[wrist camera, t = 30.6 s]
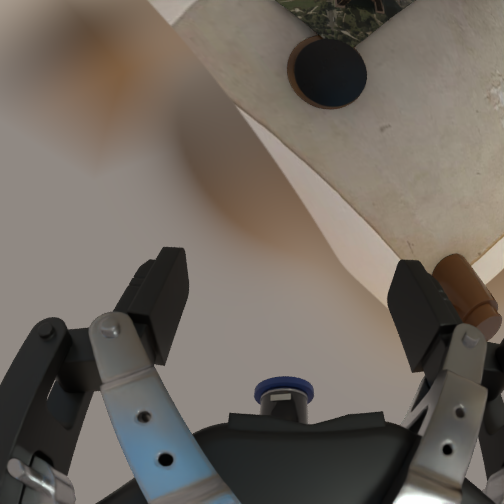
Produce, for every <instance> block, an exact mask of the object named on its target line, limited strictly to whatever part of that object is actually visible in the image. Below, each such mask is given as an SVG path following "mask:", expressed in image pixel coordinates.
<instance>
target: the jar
mask: <svg viewBox="0 0 504 504" xmlns="http://www.w3.org/2000/svg"><path fill="white" fill-rule="evenodd" d="M432 276H433V277H434V278H435V279H436V280H437V281H438V282H439V283H440V285H441V286H442V288H443V290H444V292H445V293H446V294H447V296H448V298H449V300H450V301H451V303H452V304H453V306H454V308H455V309H456V311H457V313H458V315H459V316H460V318H461V320H462V322H463V323H465V324H470V325H473V326H475V327H476V328H478V329H479V330H480V331H481V332H482V333H483V335H484V336H485V338H486V341H488V340H489V339H491V338H492V337H493V336H494V335H495V334H496V333H497V331H498V330H499V328H500V326H501V323H502V317H501V315H500V314H498V312H497V310H498V304H497V302H496V301H495V299H494V298H493V296H492V295H491V293H490V292H489V290H488V289H487V287H486V286H485V285H484V283H483V282H482V280H481V279H480V278H479V276H478V275H477V273H476V272H475V271H474V269H473V268H472V267H471V265H470V264H469V263H468V262H467V260H466V259H465V258H464V257H463V256H462V255H459V254H452V255H449V256H447V257H445V258H444V259H443V260H441V261H440V262H439V263H438V265H437V266H436V267H435V269H434V271H433V274H432Z"/></svg>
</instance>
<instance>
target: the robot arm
mask: <svg viewBox="0 0 504 504" xmlns="http://www.w3.org/2000/svg"><path fill="white" fill-rule="evenodd" d="M188 294H189V279H188V271H187V263H186V254H185V250H184V248H176V247H163V248H162V250H161V251H160V253H159V255H158V256H157V258H156V260H151V259H150V260H148V261H147V262H146V263H144V264H143V265H141V266H140V267H139V269H138V270H137V272H136V273H135V275H134V278H132V280H131V282H130V283H129V286H128V287H127V288H126V290H125V292H124V293H123V295H122V297H121V298H120V300H119V302H118V303H117V305H116V307H115V309H114V310H113V312H108V313H104V314H102V315H101V316H99V317H97V318H96V319H95V320H94V321H93V322H92V323H91V325H90V327H89V328H81V329H70V330H68V329H67V327H66V325H65V323H64V321H63V320H61V319H59V318H55V317H52V318H46V319H44V320H42V321H40V322H39V323H37V324H36V325H35V326H34V327H33V329H32V330H31V332H30V333H29V335H28V337H27V339H26V340H25V341H24V343H23V345H22V347H21V348H20V350H19V352H18V353H17V355H16V357H15V359H14V360H13V362H12V364H11V366H10V368H9V370H8V372H7V373H6V375H5V377H4V379H3V381H2V383H1V385H0V504H75V501H76V498H75V492H74V487H73V485H72V483H71V481H70V480H69V478H68V477H67V475H68V471H69V468H70V464H71V460H72V457H73V453H74V450H75V447H76V443H77V440H78V436H79V434H80V431H81V427H82V424H83V421H84V418H85V415H86V412H87V410H88V407H89V404H90V401H91V398H92V395H93V392H94V391H101V393H102V397H103V400H104V403H105V406H106V408H107V412H108V414H109V417H110V420H111V423H112V425H113V428H114V430H115V433H116V435H117V438H118V440H119V443H120V445H121V448H122V450H123V453H124V455H125V457H126V459H127V462H128V464H129V466H130V468H131V470H132V472H133V474H134V478H133V479H132V480H130V481H129V482H127V483H126V484H125V485H123V486H122V487H120V488H119V489H117V490H116V491H114V492H113V493H111V494H110V495H108V496H107V497H105V498H104V499H103V500H101V501H99V502H98V503H96V504H504V403H503V400H502V397H501V393H502V391H503V390H504V339H503V340H502V342H501V343H500V344H496V343H491V342H487V341H486V338H485V336H484V335H483V333H482V332H481V331H480V330H479V329H478V328H476V327H475V326H473V325H470V324H465V323H463V322H462V320H461V318H460V316H459V315H458V313H457V311H456V309H455V308H454V306H453V304H452V303H451V301H450V300H449V298H448V296H447V294H446V293H445V292H444V290H443V288H442V286H441V285H440V283H439V282H438V281H437V280H436V279H435V278H434V277H433V276H431V275H430V274H429V273H427V271H426V270H425V268H424V267H423V265H422V264H421V262H420V261H418V260H400V261H399V262H398V265H397V268H396V271H395V274H394V277H393V280H392V283H391V286H390V289H389V292H388V297H387V303H388V308H389V310H390V313H391V315H392V318H393V321H394V323H395V326H396V328H397V331H398V334H399V337H400V339H401V342H402V345H403V348H404V350H405V353H406V356H407V359H408V362H409V365H410V367H411V371H412V373H414V372H422V371H424V373H425V376H424V378H423V379H422V381H421V383H420V385H419V388H418V390H417V393H416V395H415V397H414V399H413V402H412V404H411V406H410V408H409V410H408V412H407V414H406V417H405V418H404V420H403V421H402V423H401V424H400V425H397V424H394V423H390V422H385V419H384V414H383V412H382V411H381V412H372V413H360V414H348V415H345V416H341V417H339V418H335V419H331V420H328V421H324V422H320V423H316V424H308V410H307V401H308V396H307V393H306V392H305V391H304V390H302V389H300V388H297V387H291V386H278V387H273V388H270V389H267V390H265V391H264V392H263V393H262V394H261V399H260V402H261V408H260V415H253V414H239V413H238V414H237V413H229V420H228V423H221V424H217V425H213V426H209V427H207V428H204V429H201V430H200V431H197V432H195V433H193V434H192V433H191V432H190V430H189V428H188V427H187V425H186V423H185V422H184V420H183V418H182V417H181V415H180V413H179V411H178V410H177V408H176V406H175V404H174V402H173V401H172V399H171V397H170V395H169V393H168V391H167V390H166V388H165V386H164V384H163V382H162V380H161V378H160V376H159V374H158V372H157V371H156V369H155V367H154V364H156V365H163V366H165V363H166V360H167V357H168V354H169V351H170V348H171V345H172V342H173V339H174V336H175V333H176V330H177V327H178V324H179V321H180V319H181V316H182V312H183V310H184V307H185V304H186V301H187V298H188ZM54 380H56V381H55V383H54ZM53 383H54V385H53V388H52V390H51V392H50V389H51V387H52V384H53ZM49 392H50V395H49V397H48V399H47V396H48V394H49ZM477 438H479V442H480V446H481V451H482V456H483V460H484V465H485V471H486V476H487V481H488V482H487V485H486V488H485V489H484V490H482V491H481V490H480V489H478V488H477V487H476V486H475V485H474V484H472V483H471V482H470V481H469V480H468V479H467V478H465V475H466V472H467V469H468V467H469V464H470V461H471V458H472V455H473V452H474V448H475V445H476V442H477Z"/></svg>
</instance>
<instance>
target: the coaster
mask: <svg viewBox="0 0 504 504" xmlns="http://www.w3.org/2000/svg"><path fill="white" fill-rule="evenodd" d="M321 39H323V38H322V37H321V36H320V35H318V36H313V37H310V38H307V39H305V40H303V41H302V42H300V43H299V44H298V45H297V46H296V47H295V48H294V49H293V51H292V53H291V54H290V57H289V60H288V64H287V75H288V79H289V82H290V84H291V87H292V88H293V90H294V91H295V92H296V94H297V95H298V96H299V97H300V98H301V99H303V100H304V101H305V102H307V103H309V104H310V105H313V106H315V107H318V108H322V109H338V108H342V107H345V106H347V105H349V104H351V103H352V102H354V101H355V100H356V99H357V98H356V99H355V100H354V101H352V102H351V103H349V104H346V105H343V106H339V107H328V106H323V105H320V104H317V103H315V102H313V101H312V100H310V99H309V98H307V97H306V96H305V95H304V94H303V93H302V91H301V90H300V88H299V87H298V85H297V83H296V80H295V77H294V72H293V67H294V61H295V59H296V56H297V55H298V53H299V52H300V51H301V49H303V48H304V47H305V46H307V45H308V44H310V43H312V42H314V41H317V40H321ZM354 49H355V48H354ZM355 50H356V49H355ZM356 51H357V50H356ZM357 52H358V51H357ZM359 55H360V54H359ZM359 96H360V95H359ZM359 96H358V97H359Z"/></svg>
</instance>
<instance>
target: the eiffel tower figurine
mask: <svg viewBox="0 0 504 504" xmlns="http://www.w3.org/2000/svg"><path fill="white" fill-rule="evenodd" d="M276 1H277V2H278V3H280V4H281V5H282V6H284V7H285V8H286V9H288V10H289V11H290V12H292V13H293V14H294V15H295V16H297V17H298V18H299V19H301V20H302V21H303V22H304V23H306V24H307V25H308V26H309V27H310V28H312V29H313V30H314V31H315V32H316V33H318V34H319V35H320V36H321V37H322V38H323V39H335V40H339V41H342V42H344V43H346V44H348V45H350V46H351V47H353V48H354V47H355V46H356V45H357V44H359V43H360V42H361V41H363V40H364V39H365V38H366V37H368V36H369V35H370V34H371V33H373V32H374V31H375V30H376V29H377V28H379V27H380V26H381V25H382V24H384V23H385V22H386V21H387V20H389V19H390V18H391V17H393V16H394V15H395V14H397V13H398V12H399V11H401V10H402V9H404V8H405V7H406V6H408V5H409V4H411V3H412V2H414V1H415V0H276Z"/></svg>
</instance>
